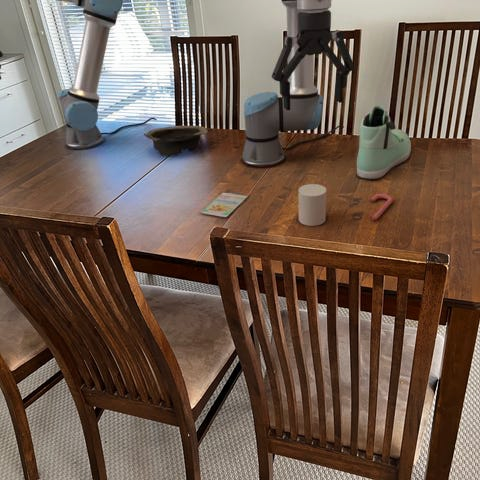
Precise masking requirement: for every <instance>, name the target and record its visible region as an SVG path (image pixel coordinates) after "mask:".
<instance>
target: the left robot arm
mask: <svg viewBox="0 0 480 480" xmlns="http://www.w3.org/2000/svg"><path fill="white" fill-rule="evenodd" d="M56 1H57V2H64V3H72V4H74V5H75V7H80V8H83V11H82V15H83V16H84V18H85V25H84V30H83V35H82V40H81V45H80V48H79V49H80V50H79V56H78V61H77V66H76V71H75V75H74V81H73V86H71V87H69V88H65V89H64V88H63V89H61V90H59V91H58V93H57V96H58V100H59V105H60V107H61V111H62V112H61V113H62V116H63V119H64V123H65V126H66V133H65V144H66V148H68V149H70V150H85V149H92V148H94V147H97V146H99V145H102V143H104V135H107V136H108V135H114V134H116V133H117V132H119V131H120V130H123V129H125V128H130V127H136V126H142V125H145V124H148V122H150V121H152V120H154V121H157V118H155V117H150V118H148V119H147V120H145V121H143V122H139V123H133V124H127V125H123V126H120V127H119V128H116V130H113V131H111V132H101V130H100V129H99V127H98V125H97V124H98V123H97V122H98V120H99V113H98V108H99V104H100V98H101V97H100V96H99V94H98V88H99V83H100V78H101V74H102V70H103V64H104V59H105V56H106V55H105V54H106V50H107V46H108V41H109V36H110V32H111V28H113V27H115V26H116V24H117V20H118V15H119V13H120V11H121V10H122V8H123V4H124V0H56ZM3 57H4V53H3V52H2V51H1V50H0V58H3ZM0 70H2V64H1V63H0ZM0 80H2V76H1V75H0Z"/></svg>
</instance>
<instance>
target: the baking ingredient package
mask: <svg viewBox="0 0 480 480" xmlns="http://www.w3.org/2000/svg"><path fill="white" fill-rule="evenodd" d="M248 197H249V196H248V195H243V194H237V193H231V192H224V191H223V192H222V193H221V194H219V195H218V196H217V197H216V198H215V199H214V200H212V202H210V203H209V204H208V205H207V206H205V207H204V208H203V209H202V210H201V211H199V213H200V214H205V215H209V216H217V217H221V218H227V217H229V215H230V214H231V213H232V212H234V210H236V209H237V208H238V207H239V206H240V205H241V204H242V203H243V202H244V201H245V200H246V199H247V198H248Z"/></svg>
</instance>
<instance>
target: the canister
mask: <svg viewBox="0 0 480 480" xmlns="http://www.w3.org/2000/svg"><path fill="white" fill-rule="evenodd" d="M297 191H298V221H299V223H300V224H301V225H304V226H308V227H317V226H320V225H322V224H324V223H325V222H326V220H327V219H326V216H327V214H326V213H327V188H326V187H325V186H324V185H322V184H318V183H309V184H304V185H302V186H300V187H299V188H298V190H297ZM322 220H323V221H322Z"/></svg>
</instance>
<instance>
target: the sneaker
mask: <svg viewBox="0 0 480 480" xmlns="http://www.w3.org/2000/svg"><path fill="white" fill-rule="evenodd" d="M396 127H397V126H396V124H395V123H394V122H393V121H392V120H391V117H390V115H388V111H387V110H386V108H385V107H384V106H382V105H374V106H373V107H372V108H371V110H370V112H369V113H368V114H367V115H365V116H364V117H363V118H362V120H361V122H360V126H359V139H358V141H359V142H358V143H359V145H358V146H359V147H358V153H357V158H356V173H357V176H358V177H359V178H362V179H367V180H377V179H380V178H382V177H384V176H385V174H387V173H388V172H389V171H390V170H391V169H392V168H394V167H395V166H397V165H400V164H401V163H404V162H405V161H407V160H408V158H409V157H410V155H411V151H412V144H411V143H412V142H411V139H410V137H409V135H408V134H407V132H406V131H404V130H402V129H396Z"/></svg>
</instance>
